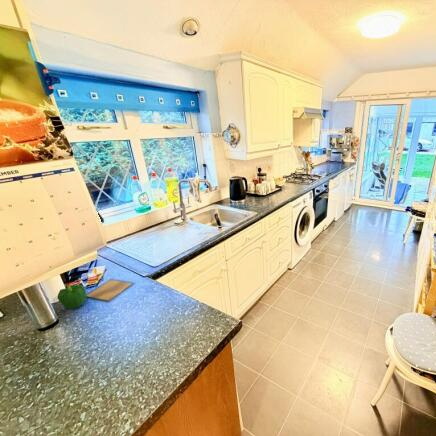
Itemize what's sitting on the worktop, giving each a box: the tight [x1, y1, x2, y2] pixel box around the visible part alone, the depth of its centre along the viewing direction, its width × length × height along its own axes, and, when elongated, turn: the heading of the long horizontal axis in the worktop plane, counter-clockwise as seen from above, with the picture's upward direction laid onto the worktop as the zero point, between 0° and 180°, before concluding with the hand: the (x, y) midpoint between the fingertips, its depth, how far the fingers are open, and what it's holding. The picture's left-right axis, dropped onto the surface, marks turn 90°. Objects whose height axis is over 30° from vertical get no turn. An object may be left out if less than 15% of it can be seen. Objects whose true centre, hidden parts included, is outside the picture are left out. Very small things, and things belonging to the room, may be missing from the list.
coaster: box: [86, 279, 132, 302], centre depth 107 cm, size 12×12×1 cm
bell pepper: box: [56, 283, 87, 310], centre depth 96 cm, size 8×8×10 cm
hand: (86, 239), depth 108 cm, fingers closed on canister, 9 cm apart
